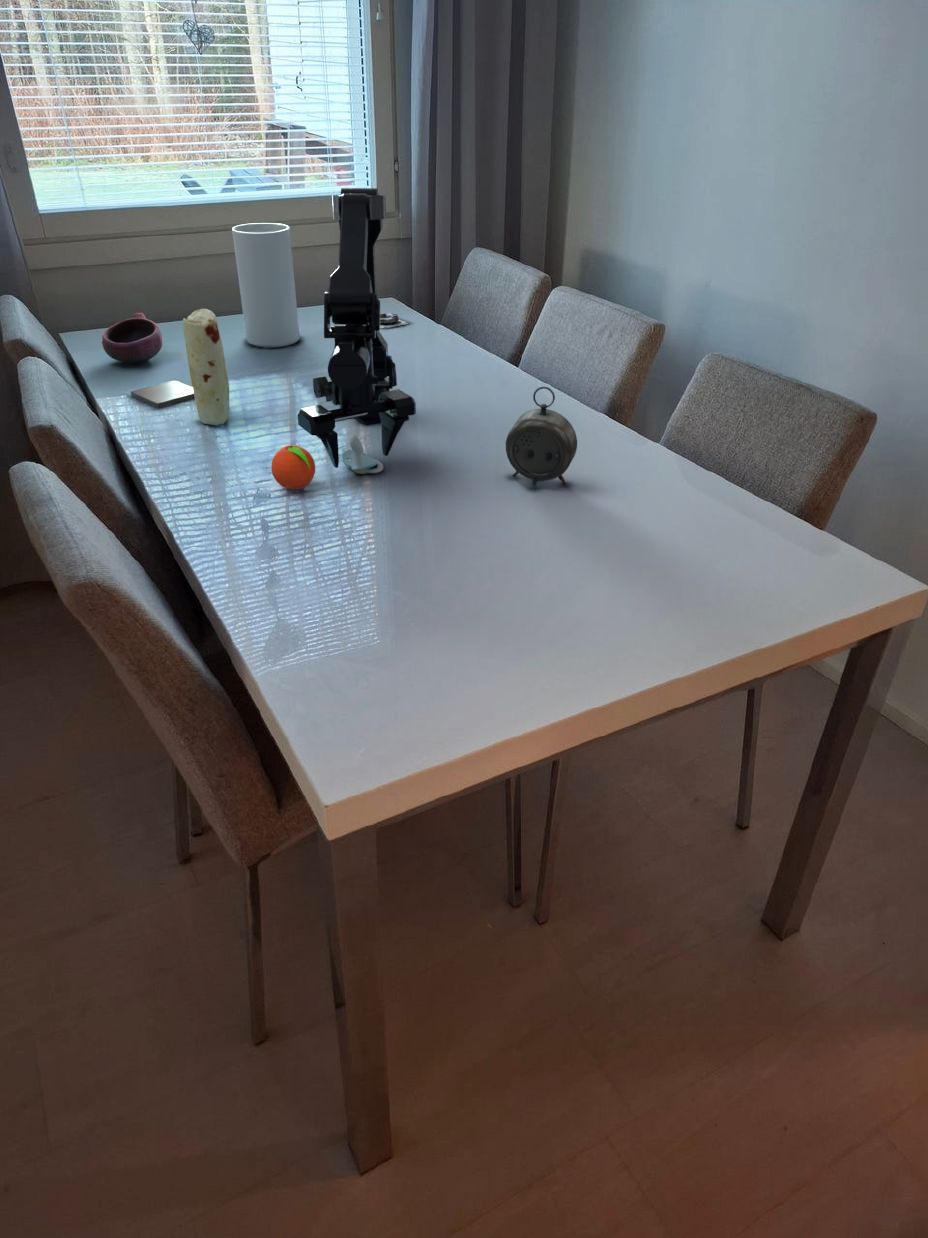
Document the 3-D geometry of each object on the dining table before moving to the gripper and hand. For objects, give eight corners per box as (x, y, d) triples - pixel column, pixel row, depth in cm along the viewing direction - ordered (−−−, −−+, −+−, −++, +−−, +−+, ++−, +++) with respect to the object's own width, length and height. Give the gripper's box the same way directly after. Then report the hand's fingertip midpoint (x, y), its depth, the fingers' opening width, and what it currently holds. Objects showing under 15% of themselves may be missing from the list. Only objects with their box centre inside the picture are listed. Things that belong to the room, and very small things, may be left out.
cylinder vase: (295, 348, 202) (283, 233, 188) (241, 348, 202) (226, 232, 188) (304, 333, 212) (293, 223, 198) (253, 333, 212) (239, 222, 199)
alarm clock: (574, 482, 142) (582, 385, 133) (566, 495, 138) (574, 396, 129) (510, 472, 145) (514, 377, 136) (501, 485, 141) (504, 387, 132)
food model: (236, 427, 161) (220, 317, 150) (199, 431, 159) (181, 319, 148) (231, 409, 169) (216, 303, 158) (196, 412, 167) (178, 305, 156)
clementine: (330, 489, 139) (326, 447, 135) (295, 503, 135) (291, 460, 131) (299, 474, 144) (295, 434, 140) (264, 487, 140) (259, 446, 136)
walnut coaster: (175, 384, 181) (174, 379, 180) (202, 395, 175) (201, 390, 175) (131, 396, 175) (130, 391, 174) (158, 408, 169) (157, 403, 169)
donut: (365, 321, 222) (364, 313, 220) (389, 316, 226) (389, 308, 225) (383, 328, 216) (383, 320, 215) (408, 323, 220) (408, 315, 219)
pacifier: (370, 458, 150) (338, 465, 147) (369, 423, 146) (337, 429, 144) (390, 473, 145) (358, 480, 142) (390, 438, 141) (357, 444, 139)
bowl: (173, 363, 192) (167, 326, 188) (114, 373, 186) (106, 335, 182) (152, 345, 204) (145, 310, 199) (96, 354, 198) (87, 318, 193)
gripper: (383, 346, 146) (387, 434, 154) (279, 364, 137) (289, 456, 146) (416, 363, 138) (418, 455, 147) (308, 383, 130) (317, 480, 138)
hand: (360, 460), depth 145 cm, fingers open, 9 cm apart
